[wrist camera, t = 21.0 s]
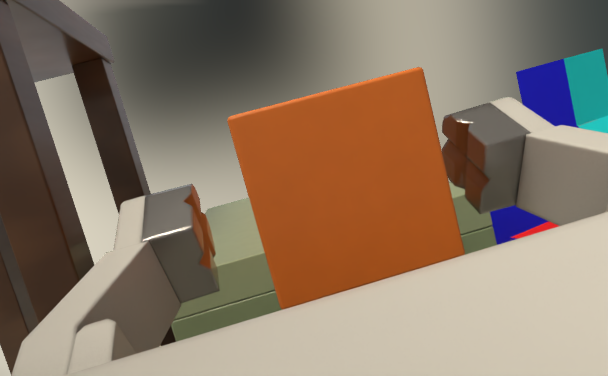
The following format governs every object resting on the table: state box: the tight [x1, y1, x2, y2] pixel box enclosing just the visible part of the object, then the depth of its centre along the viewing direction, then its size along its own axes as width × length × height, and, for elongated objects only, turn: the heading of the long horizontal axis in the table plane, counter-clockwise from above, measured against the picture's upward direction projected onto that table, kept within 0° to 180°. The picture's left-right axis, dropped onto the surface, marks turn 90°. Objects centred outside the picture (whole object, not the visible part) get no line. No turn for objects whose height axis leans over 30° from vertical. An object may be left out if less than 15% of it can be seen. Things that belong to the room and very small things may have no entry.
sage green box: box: [171, 182, 497, 342], centre depth 22 cm, size 10×16×15 cm, turn 7°
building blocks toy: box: [490, 49, 608, 245], centre depth 46 cm, size 19×25×18 cm
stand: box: [0, 0, 176, 375], centre depth 20 cm, size 10×13×26 cm
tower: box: [228, 67, 465, 310], centre depth 18 cm, size 5×20×5 cm, turn 7°
